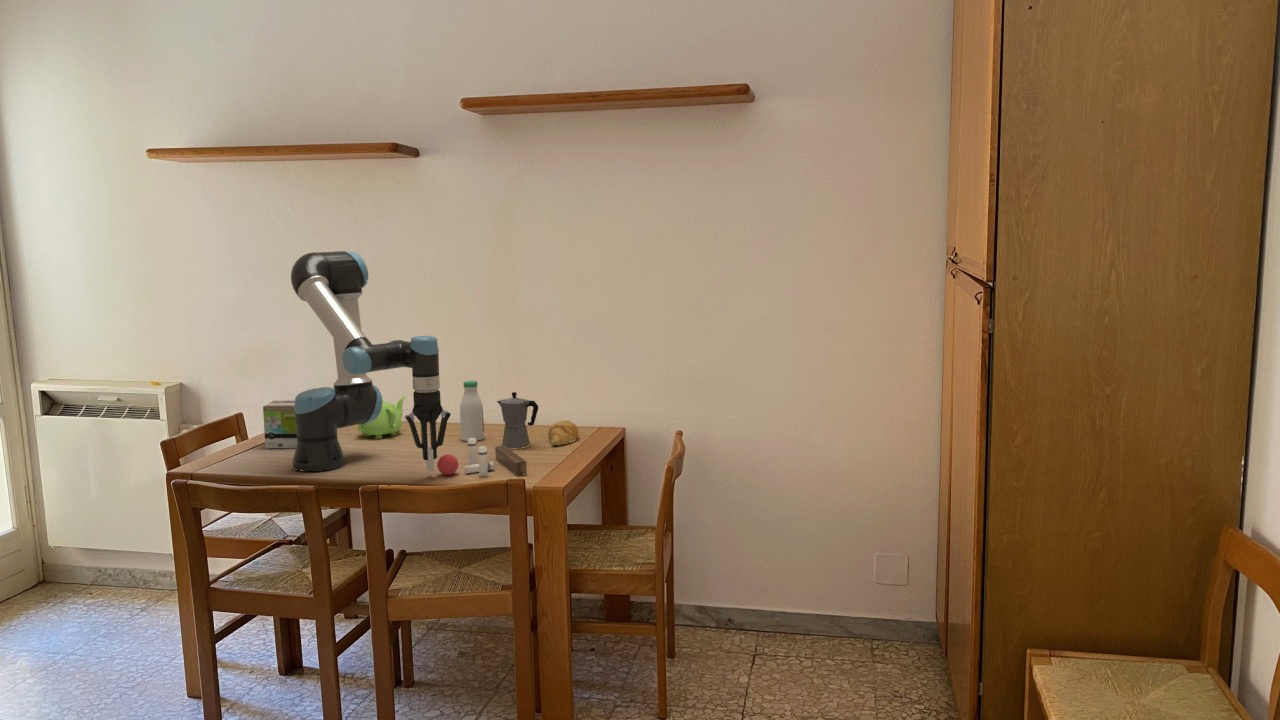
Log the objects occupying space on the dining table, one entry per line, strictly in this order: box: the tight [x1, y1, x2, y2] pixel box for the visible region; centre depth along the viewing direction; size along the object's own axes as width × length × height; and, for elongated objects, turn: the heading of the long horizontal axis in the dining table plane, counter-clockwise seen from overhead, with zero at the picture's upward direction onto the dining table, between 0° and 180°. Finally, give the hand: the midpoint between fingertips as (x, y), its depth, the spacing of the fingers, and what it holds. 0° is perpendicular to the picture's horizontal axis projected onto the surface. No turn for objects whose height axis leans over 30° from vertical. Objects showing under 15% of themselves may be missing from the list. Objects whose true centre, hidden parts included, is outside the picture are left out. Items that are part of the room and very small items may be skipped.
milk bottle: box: [459, 380, 485, 442], centre depth 315 cm, size 8×8×20 cm
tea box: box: [262, 400, 297, 450], centre depth 310 cm, size 15×10×15 cm
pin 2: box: [477, 445, 489, 478], centre depth 270 cm, size 3×3×8 cm
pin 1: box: [467, 438, 478, 465], centre depth 281 cm, size 3×3×8 cm
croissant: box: [547, 420, 579, 446], centre depth 313 cm, size 21×10×8 cm, turn 169°
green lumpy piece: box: [357, 396, 406, 440], centre depth 325 cm, size 16×14×13 cm
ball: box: [437, 453, 459, 476], centre depth 272 cm, size 6×6×6 cm
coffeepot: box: [496, 391, 539, 449], centre depth 304 cm, size 15×9×18 cm, turn 66°
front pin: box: [464, 461, 496, 475], centre depth 274 cm, size 3×3×8 cm
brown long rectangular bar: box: [495, 445, 528, 476], centre depth 280 cm, size 3×22×4 cm, turn 25°
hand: (430, 470), depth 270 cm, fingers closed
